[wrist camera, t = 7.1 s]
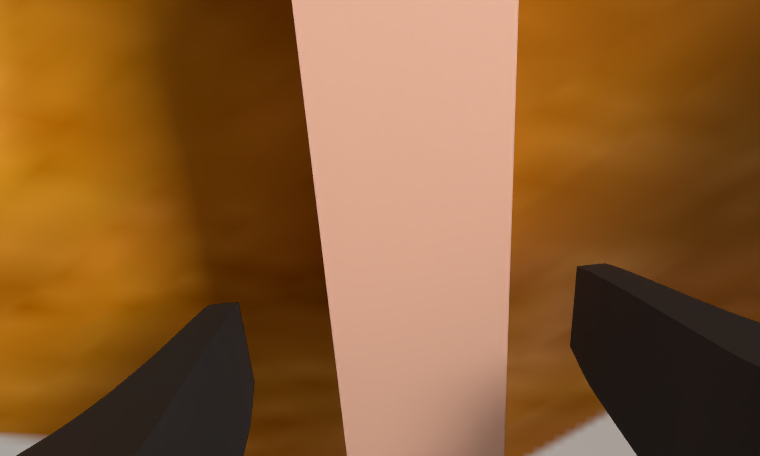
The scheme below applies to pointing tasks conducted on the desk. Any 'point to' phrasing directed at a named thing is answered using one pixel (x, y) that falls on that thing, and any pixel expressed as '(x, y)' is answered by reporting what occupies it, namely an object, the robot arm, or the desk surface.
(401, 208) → the salmon pink block
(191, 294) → the desk surface
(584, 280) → the robot arm
